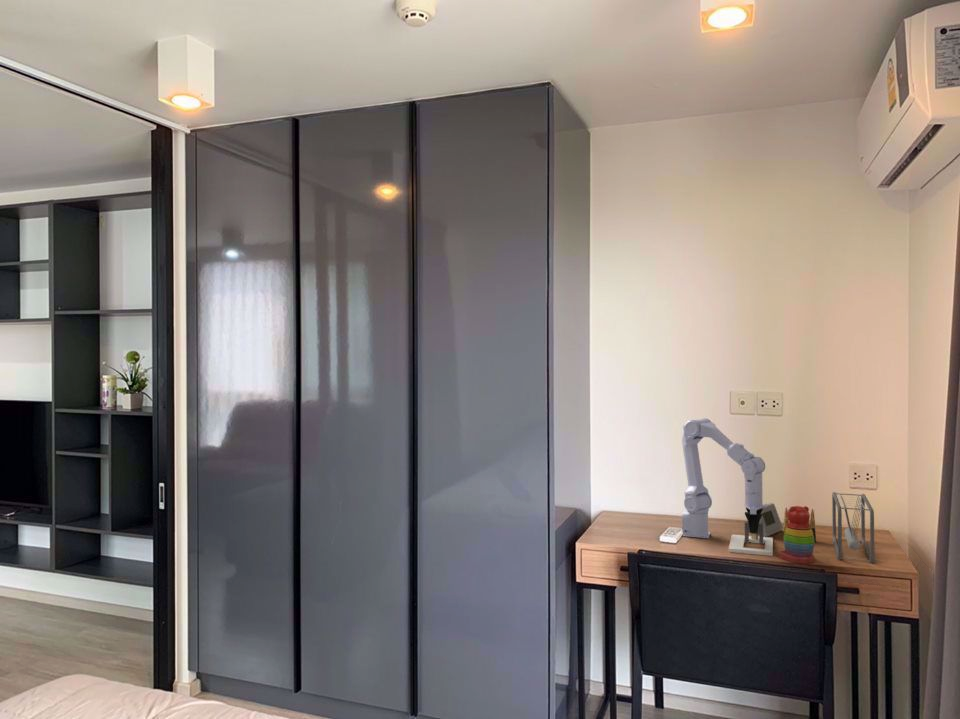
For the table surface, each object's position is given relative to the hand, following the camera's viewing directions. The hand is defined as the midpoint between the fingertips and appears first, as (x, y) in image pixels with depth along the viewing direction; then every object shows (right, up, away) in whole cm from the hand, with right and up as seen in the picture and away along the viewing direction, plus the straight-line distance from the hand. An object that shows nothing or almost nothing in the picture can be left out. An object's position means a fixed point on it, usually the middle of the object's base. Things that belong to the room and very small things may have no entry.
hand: (754, 530), depth 244 cm
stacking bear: (+9, -6, -14) cm, 18 cm away
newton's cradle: (+32, -6, -5) cm, 33 cm away
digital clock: (+13, -6, +19) cm, 24 cm away
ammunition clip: (+20, -6, +9) cm, 23 cm away
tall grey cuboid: (0, -4, 0) cm, 4 cm away
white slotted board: (0, -6, +2) cm, 7 cm away
